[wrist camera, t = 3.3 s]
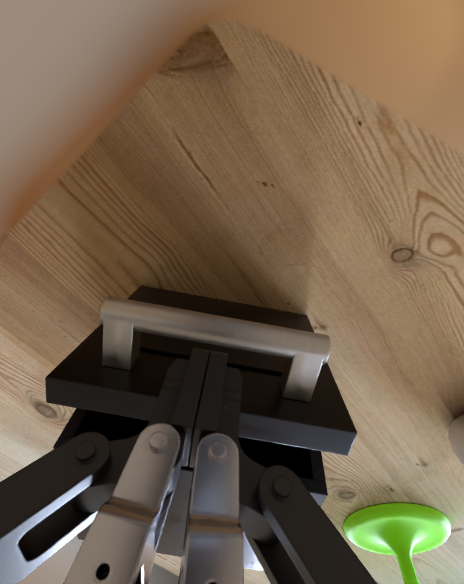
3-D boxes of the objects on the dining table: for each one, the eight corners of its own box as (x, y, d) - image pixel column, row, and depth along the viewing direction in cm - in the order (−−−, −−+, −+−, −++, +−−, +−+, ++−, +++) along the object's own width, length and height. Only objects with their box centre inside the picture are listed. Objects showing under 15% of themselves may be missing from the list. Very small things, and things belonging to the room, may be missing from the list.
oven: (140, 301, 30) (52, 446, 18) (302, 330, 31) (328, 495, 18) (141, 389, 37) (78, 539, 25) (272, 412, 38) (276, 573, 25)
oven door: (143, 245, 28) (42, 308, 14) (317, 277, 28) (382, 369, 14) (139, 300, 30) (45, 403, 16) (303, 330, 30) (348, 456, 16)
